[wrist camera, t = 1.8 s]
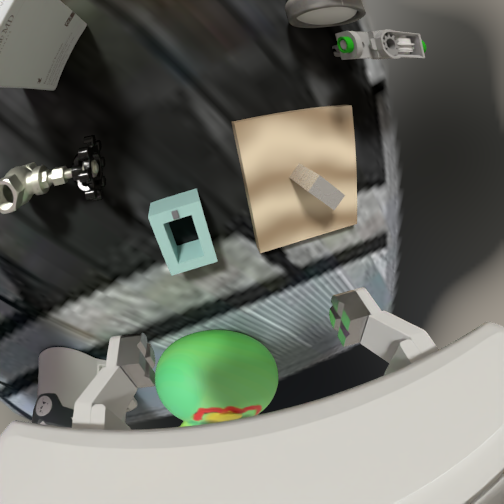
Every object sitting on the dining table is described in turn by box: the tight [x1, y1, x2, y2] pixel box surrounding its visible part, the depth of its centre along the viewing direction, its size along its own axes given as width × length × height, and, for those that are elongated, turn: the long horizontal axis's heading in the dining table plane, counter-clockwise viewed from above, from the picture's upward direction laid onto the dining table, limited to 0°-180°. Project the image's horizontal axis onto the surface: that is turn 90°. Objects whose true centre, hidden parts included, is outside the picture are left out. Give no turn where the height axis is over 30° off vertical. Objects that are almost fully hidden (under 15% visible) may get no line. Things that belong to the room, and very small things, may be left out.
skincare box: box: [0, 0, 87, 91], centre depth 11 cm, size 8×6×15 cm
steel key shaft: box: [289, 163, 345, 210], centre depth 29 cm, size 4×2×5 cm, turn 56°
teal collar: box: [148, 189, 218, 276], centre depth 30 cm, size 7×5×4 cm
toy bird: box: [155, 330, 278, 427], centre depth 38 cm, size 18×17×15 cm
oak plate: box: [232, 105, 357, 253], centre depth 32 cm, size 16×14×2 cm
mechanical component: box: [332, 29, 426, 60], centre depth 21 cm, size 3×10×10 cm, turn 106°
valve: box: [0, 135, 106, 214], centre depth 22 cm, size 7×7×12 cm
